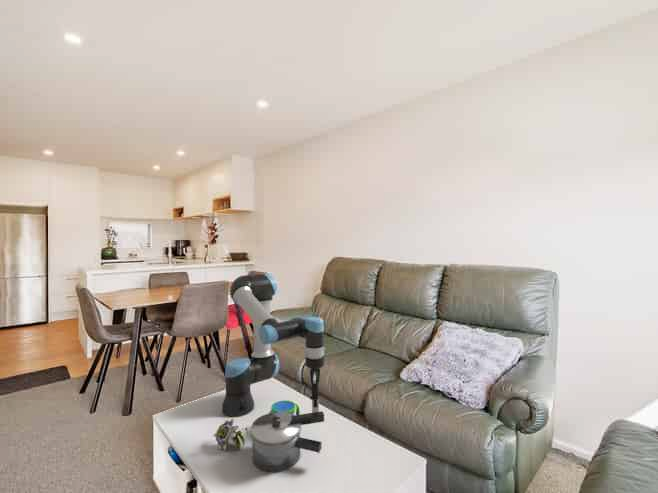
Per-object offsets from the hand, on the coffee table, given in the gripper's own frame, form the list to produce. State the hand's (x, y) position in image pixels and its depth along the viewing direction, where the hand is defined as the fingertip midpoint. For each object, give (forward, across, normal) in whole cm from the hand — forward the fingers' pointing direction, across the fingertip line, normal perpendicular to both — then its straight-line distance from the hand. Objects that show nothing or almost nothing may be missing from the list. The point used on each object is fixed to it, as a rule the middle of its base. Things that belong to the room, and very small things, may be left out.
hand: (315, 413), depth 136 cm
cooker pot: (+12, -11, +10) cm, 19 cm away
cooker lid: (+1, -8, +10) cm, 13 cm away
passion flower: (+12, -2, +34) cm, 36 cm away
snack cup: (+12, +9, +14) cm, 21 cm away
